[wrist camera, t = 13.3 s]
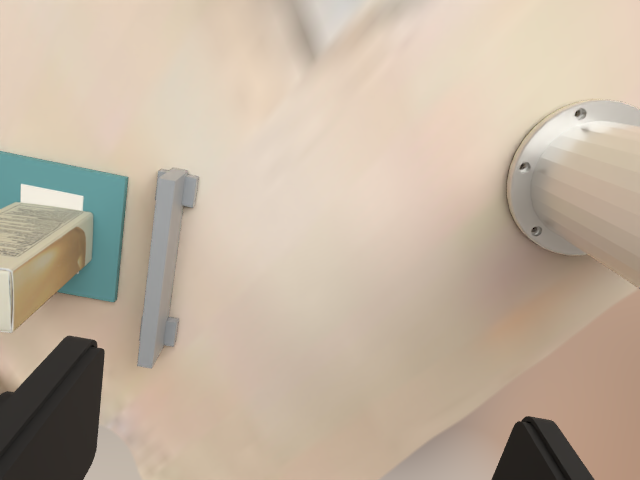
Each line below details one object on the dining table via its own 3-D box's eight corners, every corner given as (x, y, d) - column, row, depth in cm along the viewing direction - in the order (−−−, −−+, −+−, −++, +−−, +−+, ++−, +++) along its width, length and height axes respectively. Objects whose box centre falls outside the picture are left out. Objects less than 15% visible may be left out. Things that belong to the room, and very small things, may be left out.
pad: (128, 176, 39) (125, 178, 39) (116, 299, 43) (113, 302, 42) (-15, 148, 38) (-21, 149, 38) (-15, 275, 42) (-20, 278, 41)
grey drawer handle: (199, 173, 39) (187, 183, 36) (175, 344, 44) (162, 370, 41) (161, 165, 39) (145, 175, 35) (141, 338, 44) (126, 364, 40)
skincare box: (16, 250, 40) (-101, 322, 29) (15, 199, 39) (-109, 253, 27) (96, 261, 41) (13, 337, 29) (97, 211, 39) (10, 270, 28)
